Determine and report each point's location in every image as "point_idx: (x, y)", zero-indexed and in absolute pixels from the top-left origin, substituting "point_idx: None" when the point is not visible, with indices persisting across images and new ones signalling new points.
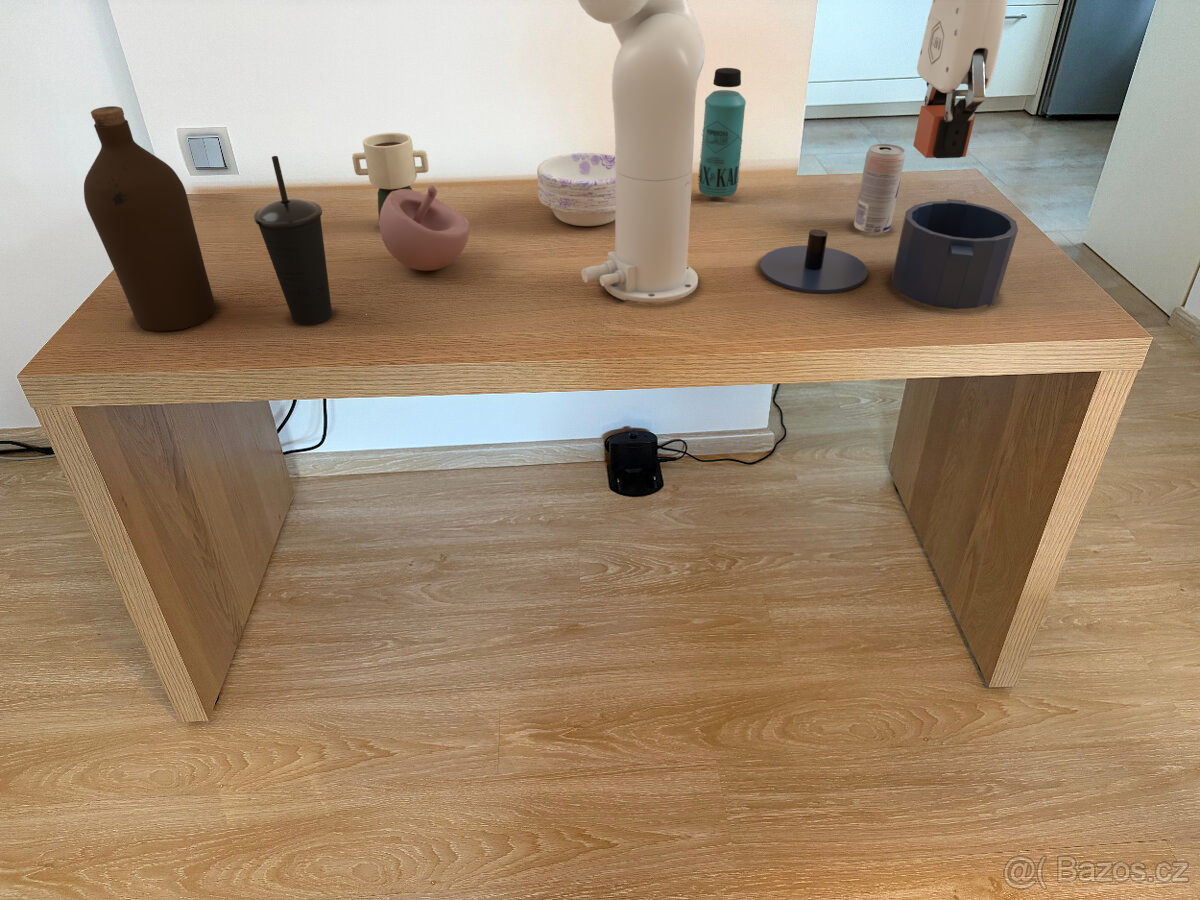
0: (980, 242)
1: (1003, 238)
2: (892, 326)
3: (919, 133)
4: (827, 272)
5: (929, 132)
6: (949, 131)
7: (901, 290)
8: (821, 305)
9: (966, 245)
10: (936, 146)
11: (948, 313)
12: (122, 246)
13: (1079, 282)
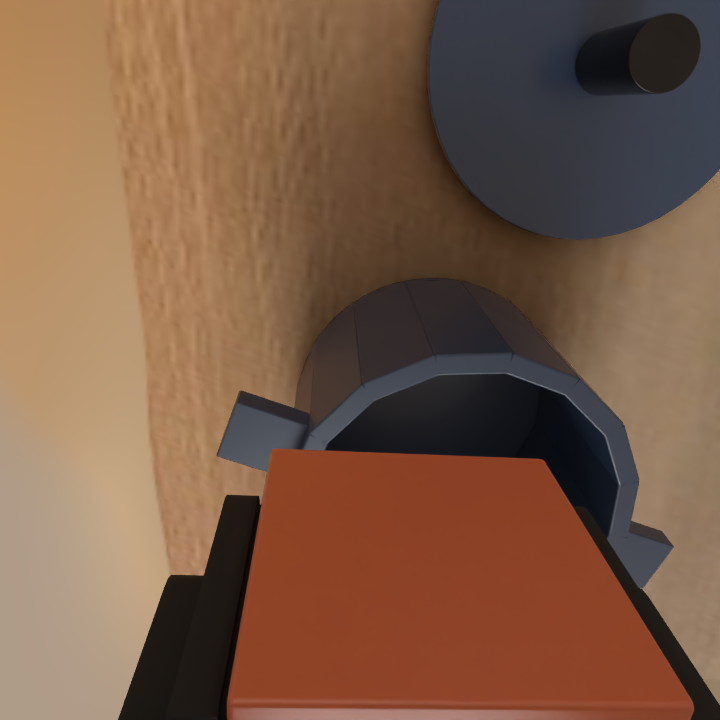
0: None
1: None
2: (233, 198)
3: (501, 522)
4: (548, 98)
5: (292, 564)
6: (130, 691)
7: (400, 286)
8: (378, 23)
9: None
10: (214, 539)
11: (297, 365)
12: None
13: None
